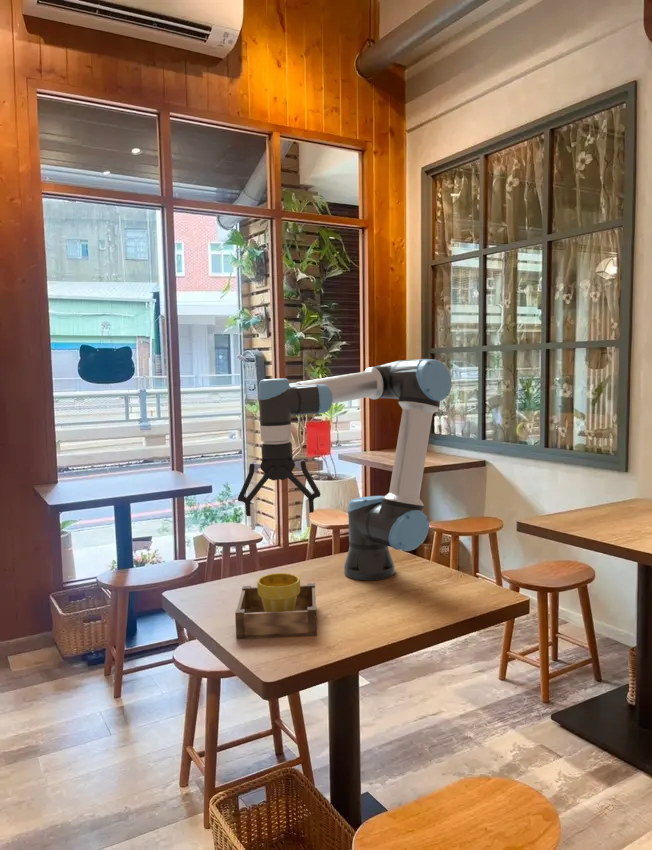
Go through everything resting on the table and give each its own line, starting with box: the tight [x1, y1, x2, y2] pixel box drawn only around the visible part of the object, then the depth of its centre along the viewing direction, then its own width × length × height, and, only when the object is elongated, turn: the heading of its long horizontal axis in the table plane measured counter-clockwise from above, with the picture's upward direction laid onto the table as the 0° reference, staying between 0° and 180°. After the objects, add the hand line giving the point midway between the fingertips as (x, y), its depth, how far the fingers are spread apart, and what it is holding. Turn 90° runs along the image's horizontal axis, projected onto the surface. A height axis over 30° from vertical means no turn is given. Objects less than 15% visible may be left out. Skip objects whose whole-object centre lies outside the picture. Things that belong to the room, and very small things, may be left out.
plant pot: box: [256, 572, 301, 612], centre depth 158 cm, size 10×10×10 cm
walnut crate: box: [234, 582, 318, 640], centre depth 158 cm, size 19×19×6 cm
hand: (280, 527), depth 159 cm, fingers open, 13 cm apart
